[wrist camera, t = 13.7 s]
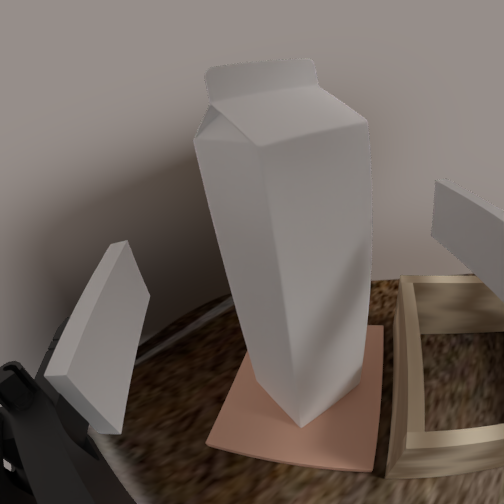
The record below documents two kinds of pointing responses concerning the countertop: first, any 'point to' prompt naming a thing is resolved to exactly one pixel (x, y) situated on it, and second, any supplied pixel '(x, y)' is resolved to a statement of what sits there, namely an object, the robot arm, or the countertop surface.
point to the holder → (412, 380)
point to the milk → (291, 225)
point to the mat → (314, 433)
